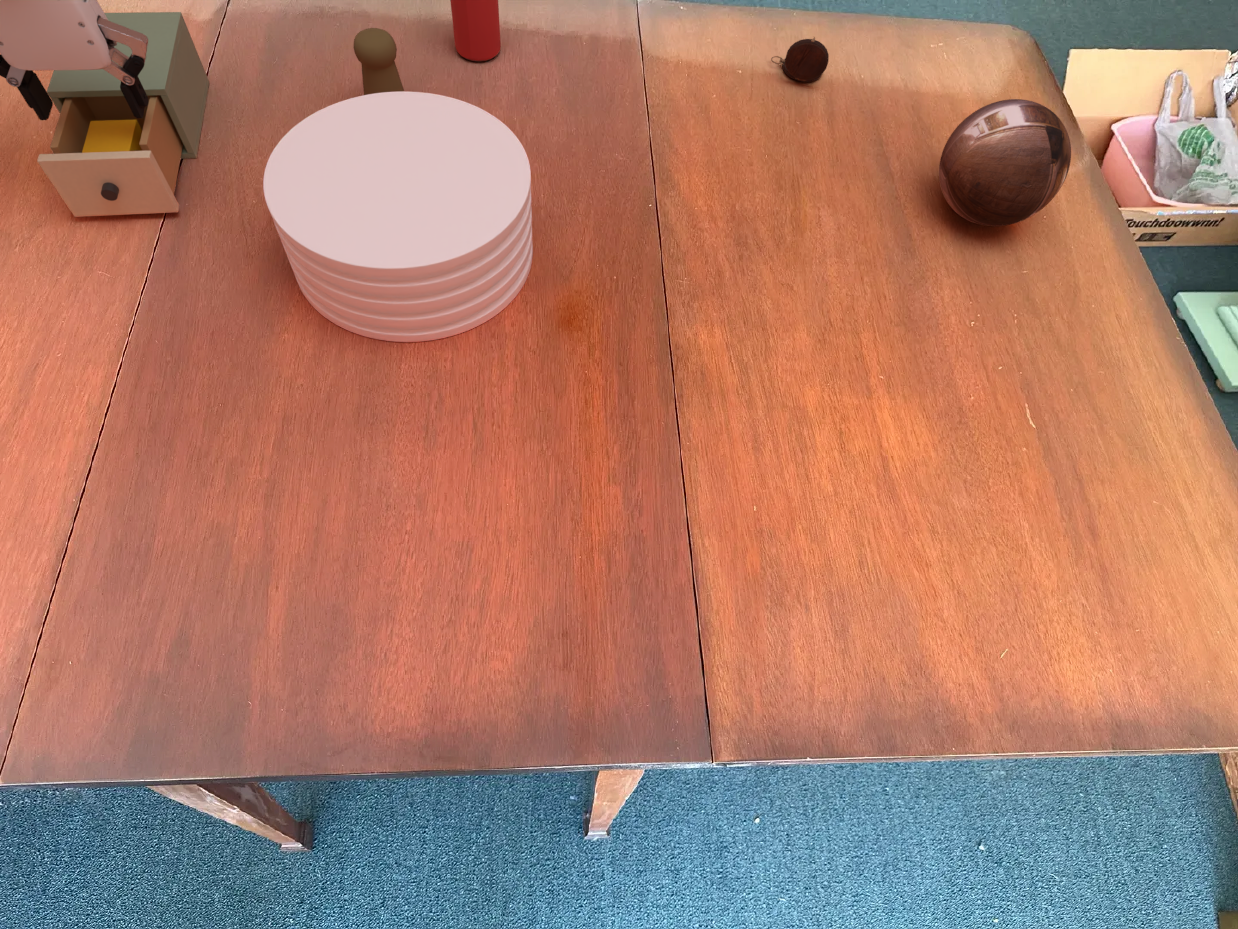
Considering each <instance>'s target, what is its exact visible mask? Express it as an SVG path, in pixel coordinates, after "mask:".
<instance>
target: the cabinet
mask: <svg viewBox="0 0 1238 929" xmlns="http://www.w3.org/2000/svg"><path fill="white" fill-rule="evenodd" d="M104 13H105V15H106V17H107V19H108V21H111V22H113V23H116V24H119V25H121V26H124V27H126V28H129V29H132V30H134V31H137V32H139V33H142V34H144V35H146V36H147V38H148V46H147V53H146V60H145V64H144V67H143V69H142V70H141V72H140V73H139V75H138V78H139V80H140V82H141V84H142V86H143V88H144V90H145V92H146V94H147V96H149V95H161V98H162V100H163V102H164V104H165V106H166V108H167V110H168V112H169V114H170V117H171V119H172V121H173V123H174V125H175V127H176V129H177V131H178V134H179V136H180V138H181V140H182V142H183V148H182V153H181V159H180V160H182V159H183V160H184V159H185V160H187V159H197V158H198V153H199V152H198V151H199V146H200V140H201V135H202V128H203V123H204V117H205V112H206V111H205V110H206V104H207V99H208V94H209V93H208V92H209V87H210V80H209V77H208V74H207V73H206V70H205V68H204V66H203V63H202V60H201V57H200V55H199V53H198V51H197V48H196V46H195V42H194V41H193V38H192V35H191V32H190V31H189V27H188V26H187V23H186V21H185V18H184V15H183V13H182V11H147V12H143V11H141V12H137V11H136V12H135V11H134V12H104ZM114 47H115V48H116V49H118V50H119V51H120V52H122V53H123V54H125V55H126V56H128V57H130V56H131V54H132V50H131V48H130V47H129V46H127V45H124V44H121V43H119V42H117V46H114ZM111 61H113V60H111ZM113 62H114V61H113ZM116 64H117V63H116ZM119 66H120V65H119ZM122 68H123V67H122ZM52 71H53V72H52V75H51V78H50V81H49V84H48V87H47V89H46V92H47V93H48V95H49V97H50V98H51V100H52V102H53V105H54V107H55V108H56V109H57V111H58V113H59V114H60V113H61V110H62V106H63V103H64V100H65V97H107V96H124V95H123V93H122V91H121V89H120V84H121V81H120V80H119V79H117V78H116V77H114V76H113V75H111V74H110V73H108V72H107V71H105V70H104V69H99V70H52Z"/></svg>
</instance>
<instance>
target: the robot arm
mask: <svg viewBox="0 0 1238 929" xmlns="http://www.w3.org/2000/svg"><path fill="white" fill-rule="evenodd" d="M105 13H106V12H104V10H103V8H102V6H101V4H100V3H99V2H98V0H0V77H2V78H4V79H5V80H6V83H7V84H8V85H10V86H12V87H14V88H17V90H18V91H19V93H20V95H21V97H22V98H23V99H24V101H25V103H26V104H27V106H28V108H30V109H33V111H34V113H35V114H36V116H37V118H38V119H39V120H40V121H47V120H48V119H49V118H50V115H51V112H52V109H53V105H54V103H53V101H52V100H51V98H50V96H49V95H48V93H47V89H46V88H45V87H44V85H43V83H42V82H41V80H40V78H39V77H38V75H37V73H36V72H34V71H54V70H99V69H104V70H105V71H107V72H108V73H110V74H111V75H113V76H114V77H116V78H117V79H119V80H120V81H121V84H120V89H121V91H122V93H123V95H124V97H125V99H126V101H127V103H128V105H129V107H130V109H131V111H132V113H133V115H134V117H136V118H143V115H144V111H145V107H147V106H148V97H147V94H146V92H145V90H144V88H143V86H142V84H141V82H140V80H139V78H138V75H139V73H140V72H141V70H142V69H143V67H144V64H145V60H146V53H147V46H148V38H147V36H146V35H144V34H142V33H139V32H137V31H134V30H132V29H129V28H126V27H124V26H121V25H119V24H116V23H113V22H111V21H108V19H107V17H106V15H105ZM117 42H119V43H121V44H124V45H127V46H129V47H130V48H131V50H132V54H131V56H130V57H128V56H126V55H125V54H123V53H122V52H120V51H119V50H118V49H116V48H115V47H114V46H117ZM111 60H113V61H114V62H113V61H111ZM116 63H117V64H116ZM119 65H120V66H119ZM122 67H123V68H122Z"/></svg>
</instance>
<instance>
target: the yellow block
mask: <svg viewBox="0 0 1238 929" xmlns="http://www.w3.org/2000/svg"><path fill="white" fill-rule="evenodd" d="M141 134H142V129H141V127H140V125H139V123H138V121H137V120H105V121H90V125H89V129H88V132H87V136H86V140H85V143H84V147H83V151H82V153H90V152H120V151H142V149H141V147H140V145H139V143H140V139H141Z"/></svg>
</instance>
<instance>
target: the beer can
mask: <svg viewBox="0 0 1238 929" xmlns="http://www.w3.org/2000/svg"><path fill="white" fill-rule="evenodd" d="M449 3H450V11H451V19H452V20H451V21H452V29H453V38H454V47H455V50H456V52H457V53H458V54H459V55H460V56H461V57H462V58H464V59H466V60H467V61H468V60H469V61H472V62H486V61H490V60H492V59H494V58H495V57H497V55H498V54H499V53H500V51H501V48H502V43H501V25H500V7H499V0H450V2H449Z"/></svg>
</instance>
